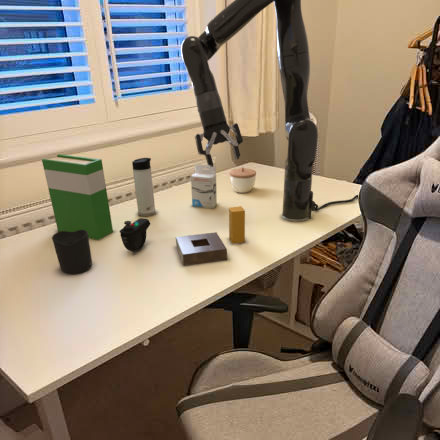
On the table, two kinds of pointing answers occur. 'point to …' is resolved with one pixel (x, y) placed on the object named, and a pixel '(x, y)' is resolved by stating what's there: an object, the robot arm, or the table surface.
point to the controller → (134, 234)
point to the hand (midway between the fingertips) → (224, 163)
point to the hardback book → (78, 195)
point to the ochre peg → (237, 225)
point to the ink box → (204, 187)
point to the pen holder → (73, 251)
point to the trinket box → (242, 179)
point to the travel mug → (143, 186)
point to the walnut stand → (201, 248)
